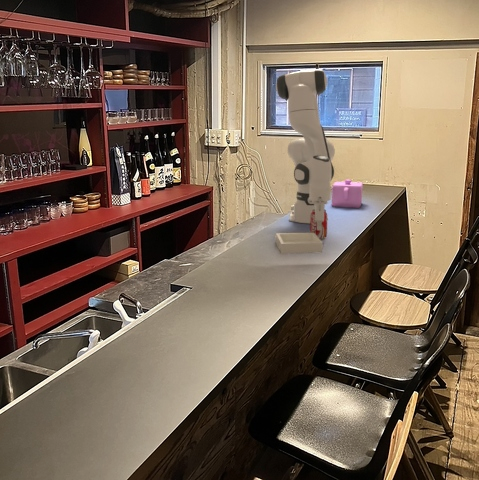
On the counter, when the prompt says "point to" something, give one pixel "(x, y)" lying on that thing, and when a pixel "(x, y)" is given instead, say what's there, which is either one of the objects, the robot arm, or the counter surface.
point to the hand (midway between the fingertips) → (318, 227)
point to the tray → (298, 242)
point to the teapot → (347, 194)
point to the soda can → (313, 226)
